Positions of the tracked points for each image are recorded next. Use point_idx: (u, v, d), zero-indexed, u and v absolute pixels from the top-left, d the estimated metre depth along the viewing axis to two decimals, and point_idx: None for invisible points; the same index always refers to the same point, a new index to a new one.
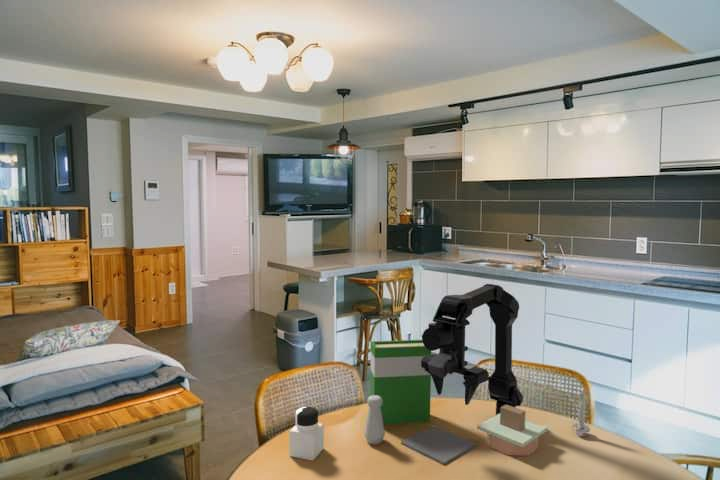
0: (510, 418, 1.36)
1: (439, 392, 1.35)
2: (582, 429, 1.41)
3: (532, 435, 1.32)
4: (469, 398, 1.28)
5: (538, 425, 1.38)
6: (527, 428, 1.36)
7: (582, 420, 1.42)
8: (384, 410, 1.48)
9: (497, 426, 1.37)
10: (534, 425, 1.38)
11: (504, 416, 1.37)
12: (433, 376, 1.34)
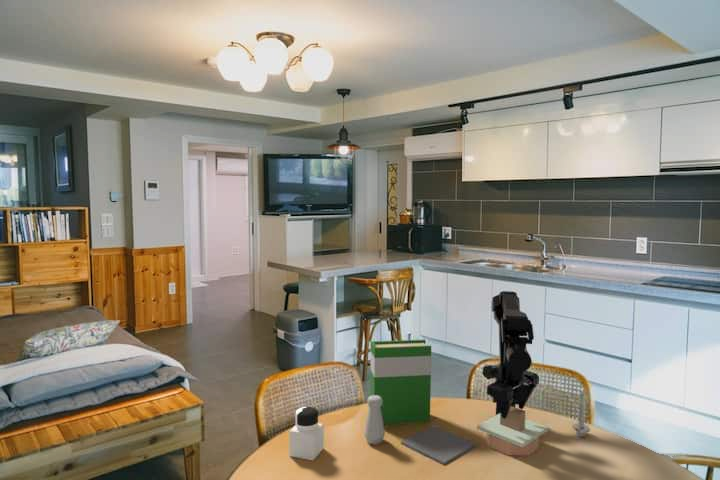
0: (510, 418, 1.36)
1: (519, 406, 1.40)
2: (582, 429, 1.41)
3: (532, 435, 1.32)
4: (502, 412, 1.33)
5: (538, 425, 1.38)
6: (527, 428, 1.36)
7: (582, 420, 1.42)
8: (384, 410, 1.48)
9: (497, 426, 1.37)
10: (534, 425, 1.38)
11: None
12: None
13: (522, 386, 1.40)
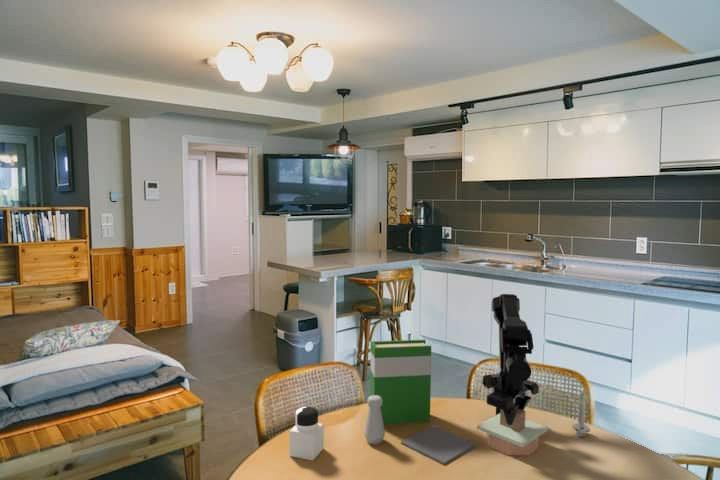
0: None
1: None
2: (582, 429, 1.41)
3: (532, 435, 1.32)
4: (508, 418, 1.35)
5: (538, 425, 1.38)
6: (527, 428, 1.36)
7: (582, 420, 1.42)
8: (384, 410, 1.48)
9: (497, 426, 1.37)
10: (534, 425, 1.38)
11: (504, 416, 1.37)
12: None
13: (517, 398, 1.38)
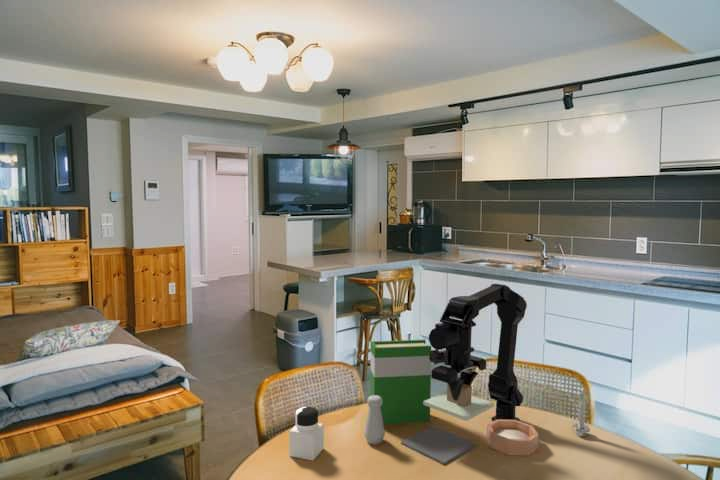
0: None
1: None
2: (582, 429, 1.41)
3: (477, 410, 1.30)
4: (453, 394, 1.33)
5: (485, 401, 1.36)
6: (473, 404, 1.34)
7: (582, 420, 1.42)
8: (384, 410, 1.48)
9: (443, 402, 1.35)
10: (481, 401, 1.36)
11: None
12: None
13: (463, 374, 1.36)
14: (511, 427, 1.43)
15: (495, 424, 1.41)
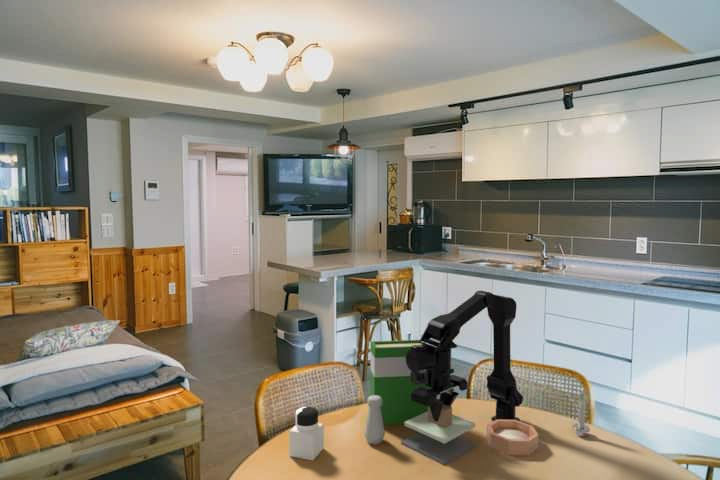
0: None
1: None
2: (582, 429, 1.41)
3: (457, 431, 1.30)
4: (434, 415, 1.34)
5: (466, 421, 1.36)
6: (454, 424, 1.35)
7: (582, 420, 1.42)
8: (384, 410, 1.48)
9: (424, 422, 1.36)
10: (462, 421, 1.37)
11: None
12: None
13: (444, 394, 1.37)
14: (511, 427, 1.43)
15: (495, 424, 1.41)
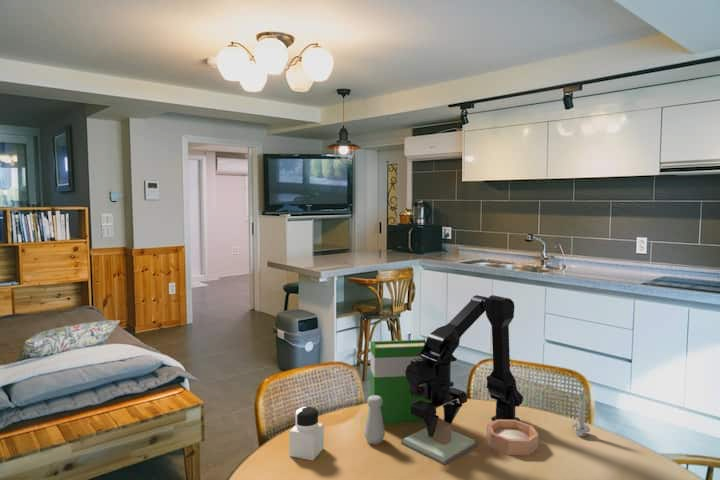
0: (436, 431, 1.35)
1: None
2: (582, 429, 1.41)
3: (456, 449, 1.31)
4: (429, 430, 1.33)
5: (465, 438, 1.37)
6: (453, 441, 1.35)
7: (582, 420, 1.42)
8: (384, 410, 1.48)
9: (424, 439, 1.36)
10: (462, 438, 1.37)
11: None
12: None
13: (448, 405, 1.38)
14: (511, 427, 1.43)
15: (495, 424, 1.41)
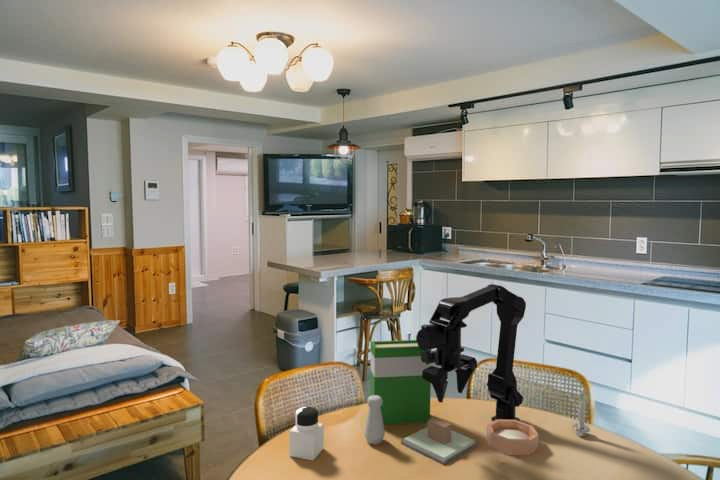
0: (436, 431, 1.35)
1: (458, 390, 1.42)
2: (582, 429, 1.41)
3: (456, 449, 1.31)
4: (438, 396, 1.35)
5: (465, 438, 1.37)
6: (453, 441, 1.35)
7: (582, 420, 1.42)
8: (384, 410, 1.48)
9: (424, 439, 1.36)
10: (462, 438, 1.37)
11: (431, 429, 1.36)
12: None
13: (460, 370, 1.41)
14: (511, 427, 1.43)
15: (495, 424, 1.41)
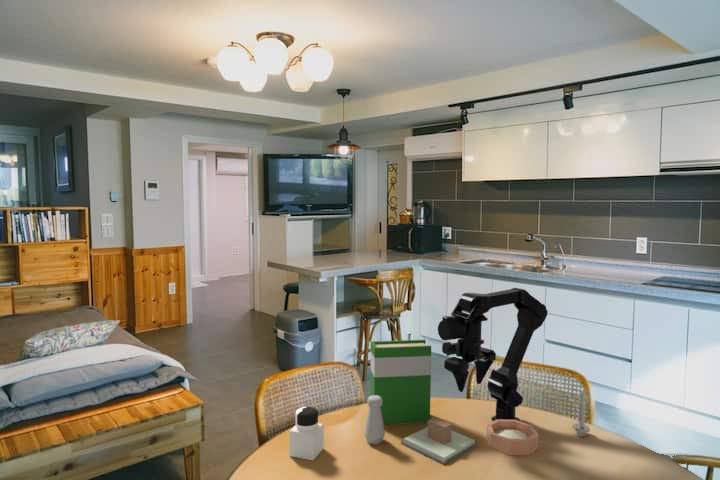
0: (436, 431, 1.35)
1: (477, 381, 1.48)
2: (582, 429, 1.41)
3: (456, 449, 1.31)
4: (459, 385, 1.41)
5: (465, 438, 1.37)
6: (453, 441, 1.35)
7: (582, 420, 1.42)
8: (384, 410, 1.48)
9: (424, 439, 1.36)
10: (462, 438, 1.37)
11: (431, 429, 1.36)
12: None
13: (480, 362, 1.47)
14: (511, 427, 1.43)
15: (495, 424, 1.41)
